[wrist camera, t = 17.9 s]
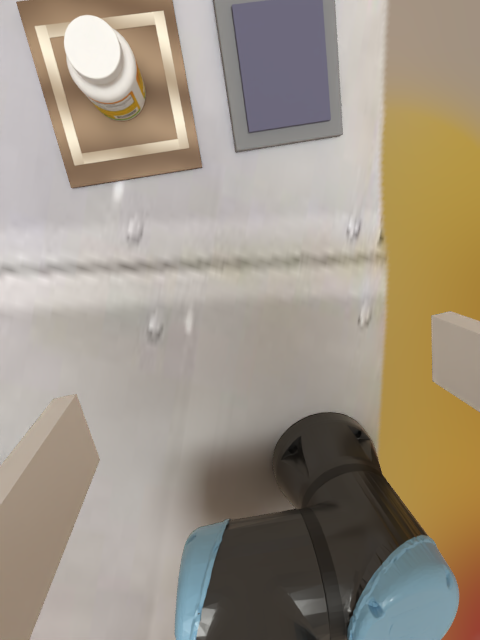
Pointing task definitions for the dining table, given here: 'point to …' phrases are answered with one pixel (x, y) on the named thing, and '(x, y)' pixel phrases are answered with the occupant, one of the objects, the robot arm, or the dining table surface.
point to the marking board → (82, 115)
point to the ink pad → (280, 70)
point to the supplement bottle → (104, 67)
